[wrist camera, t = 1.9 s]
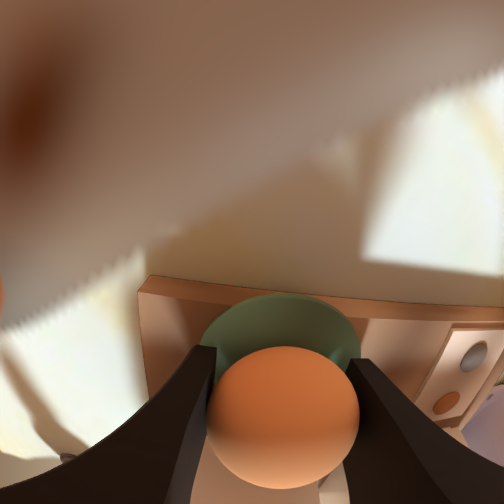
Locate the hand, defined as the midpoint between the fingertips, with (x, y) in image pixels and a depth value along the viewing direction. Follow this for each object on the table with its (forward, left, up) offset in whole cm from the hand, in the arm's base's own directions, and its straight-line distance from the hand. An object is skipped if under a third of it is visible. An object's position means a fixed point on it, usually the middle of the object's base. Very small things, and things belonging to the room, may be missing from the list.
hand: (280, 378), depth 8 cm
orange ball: (0, 0, 0) cm, 0 cm away
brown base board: (-3, +4, -2) cm, 6 cm away
